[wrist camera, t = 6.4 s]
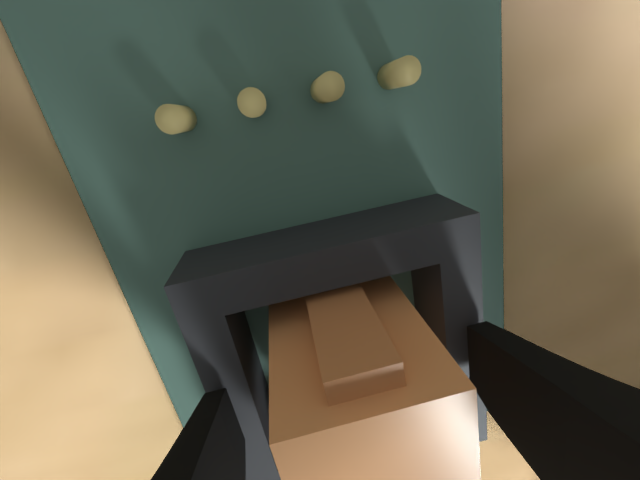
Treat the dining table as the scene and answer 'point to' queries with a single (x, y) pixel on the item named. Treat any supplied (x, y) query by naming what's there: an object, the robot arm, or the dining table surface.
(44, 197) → the dining table surface
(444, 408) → the plug
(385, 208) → the header board
